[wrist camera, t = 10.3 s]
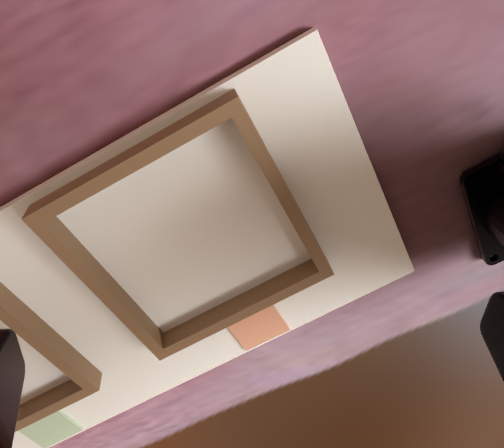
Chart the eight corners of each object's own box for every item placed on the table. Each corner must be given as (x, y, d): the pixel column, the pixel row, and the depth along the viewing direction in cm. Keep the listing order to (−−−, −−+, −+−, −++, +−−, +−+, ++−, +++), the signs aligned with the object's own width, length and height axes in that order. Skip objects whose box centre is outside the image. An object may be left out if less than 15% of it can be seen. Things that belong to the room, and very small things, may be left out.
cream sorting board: (410, 264, 26) (424, 284, 24) (-22, 473, 30) (-32, 502, 28) (313, 27, 18) (325, 34, 17) (-242, 345, 22) (-272, 374, 21)
